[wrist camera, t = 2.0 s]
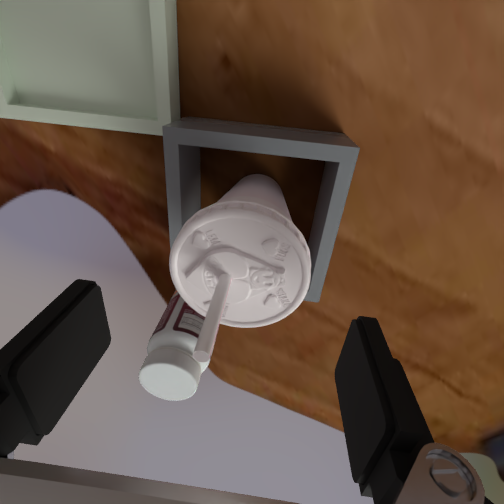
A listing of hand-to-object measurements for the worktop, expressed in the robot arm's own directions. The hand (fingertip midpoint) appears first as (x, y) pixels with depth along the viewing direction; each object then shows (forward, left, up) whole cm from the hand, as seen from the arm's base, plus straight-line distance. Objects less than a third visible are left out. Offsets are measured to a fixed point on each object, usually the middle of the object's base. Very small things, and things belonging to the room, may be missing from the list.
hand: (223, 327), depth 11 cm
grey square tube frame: (-1, 0, -12) cm, 12 cm away
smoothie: (-1, 0, -12) cm, 12 cm away
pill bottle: (+10, -4, -12) cm, 16 cm away
